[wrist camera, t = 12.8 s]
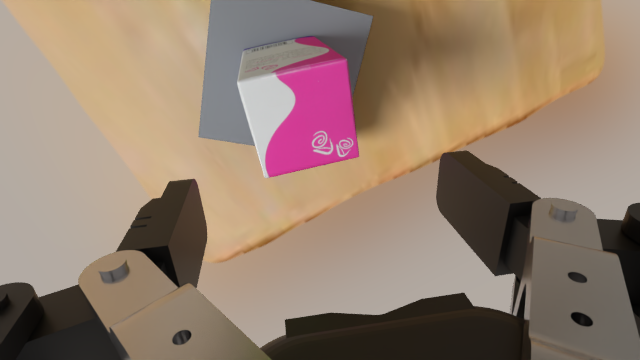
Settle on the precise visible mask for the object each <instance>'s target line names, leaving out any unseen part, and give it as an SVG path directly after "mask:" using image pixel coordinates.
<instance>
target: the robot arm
mask: <svg viewBox="0 0 640 360" xmlns="http://www.w3.org/2000/svg"><path fill="white" fill-rule="evenodd" d="M436 199H437V205H438V208H439V210H440V212H441V213H442V215H443V216H444V217H445V218H446V219H447V221H448V222H449V223H450V224H451V225H452V226H453V228H454V229H455V230H456V231H457V232H458V233H459V234H460V236H461V237H462V238H463V239H464V240H465V241H466V243H467V244H468V245H469V246H470V247H471V249H473V251H474V252H475V253H476V254H477V256H478V257H479V258H480V259H481V260H482V261H483V262H484V264H485V265H486V266H487V267H488V268H489V269H490V271H491V272H492V273H493V274H494V275H495V276H498V275H505V274H512V273H514V274H515V280H514V284H513V289H512V298H511V306H510V314H509V313H505V312H502V311H499V310H494V309H490V308H484V307H477V306H473V305H472V303H471V302H470V301H469V299H468V298H467V297H466V295H465V293H459V294H452V295H446V296H439V297H433V298H425V299H421V300H418V301H416V302H413V303H411V304H408V305H406V306H403V307H400V308H398V309H396V310H393V311H390V312H388V313H386V314H382V315H362V314H344V313H326V314H319V315H313V316H306V317H300V318H293V319H286V320H285V325H286V326H285V327H286V335H284V336H281V337H279V338H277V339H275V340H273V341H271V342H269V343H267V344H266V345H264V346H263V347H261V348H259V347H258V346H256V344H255V343H253V342H252V341H251V340H250V339H249V338H248V337H247V336H246V335H245V334H244V333H243V332H242V331H241V330H240V329H239V328H238V327H236V326H235V325H234V324H233V323H232V322H231V321H230V320H229V319H228V318H227V317H226V316H225V315H224V314H223V313H222V312H221V311H219V310H218V309H217V308H216V307H215V306H214V305H213V304H212V303H211V302H210V301H209V300H208V299H207V298H206V297H205V296H204V295H203V294H201V293H200V292H199V291H198V290H197V289H196V288H197V283H198V279H199V274H200V269H201V265H202V260H203V256H204V251H205V247H206V242H207V226H206V220H205V216H204V211H203V207H202V202H201V198H200V193H199V189H198V185H197V182H196V180H195V179H188V180H179V181H170V182H169V183H168V185H167V187H166V189H165V191H164V193H163V195H162V197H161V198H155V199H152V200H151V201H150V202H148V203H147V204H146V205H145V206H143V207H142V208H141V209H140V211H139V212H138V214H137V216H136V218H135V220H134V221H133V223H132V225H131V229H129V230H128V232H127V233H126V235H125V237H124V239H123V240H122V242H121V244H120V246H119V247H118V249H117V251H116V252H114V253H112V254H109V255H106V256H104V257H102V258H99V259H98V260H96V261H94V262H93V263H91V264H90V265H89V266H88V267H86V268H85V269H84V270H83V272H82V273H81V275H80V276H79V279H78V283H79V284H78V285H75V286H73V287H70V288H67V289H64V290H61V291H58V292H54V293H51V294H48V295H45V296H42V297H39V298H38V296H37V294H36V292H35V290H34V288H33V287H32V286H31V285H30V284H27V283H10V284H5V285H1V286H0V360H640V203H635V204H632V205H630V206H629V207H628V209H627V212H626V214H625V217H624V219H623V220H606V219H596V216H595V215H594V213H593V212H592V211H591V210H590V209H588V208H587V207H585V206H583V205H581V204H578V203H576V202H573V201H569V200H565V199H558V198H543V199H541V198H540V197H538V196H537V195H535V194H534V193H533V192H531V191H530V190H528V189H527V188H525V187H524V186H523V185H521V184H520V183H517V181H515V180H514V179H513V178H511V177H509V176H508V175H507V174H505V173H504V172H502V171H501V170H499V169H498V168H496V167H493V166H490V165H488V164H485V163H484V162H482V161H481V160H480V159H478V158H477V157H476V156H474V155H473V154H471V153H470V152H469V151H457V152H447V153H443V154H442V156H441V159H440V166H439V175H438V186H437V195H436Z"/></svg>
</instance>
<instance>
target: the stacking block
mask: <svg viewBox="0 0 640 360" xmlns="http://www.w3.org/2000/svg"><path fill="white" fill-rule="evenodd" d="M372 19H373V16H371V15H367V14H363V13H359V12H355V11H351V10H347V9H343V8H339V7H335V6H331V5H327V4H323V3H319V2H315V1H311V0H211V5H210V16H209V27H208V38H207V49H206V60H205V71H204V82H203V93H202V104H201V115H200V126H199V137H201V138H207V139H214V140H220V141H227V142H233V143H240V144H246V145H253V146H255V143H254V140H253V137H252V134H251V130H250V127H249V123H248V120H247V117H246V113H245V110H244V106H243V103H242V100H241V96H240V92H239V89H238V85H237V80H238V75H239V70H240V64H241V58H242V53H243V50H244V49H248V48H252V47H256V46H261V45H265V44H270V43H275V42H280V41H285V40H290V39H295V38H300V37H306V36H314V37H316V38H317V39H318V40H320V41H321V42H323V43H324V44H326V45H327V46H328V47H330V48H331V49H333V50H334V51H336V52H337V53H339V54H340V55H342V56H343V57H345V58H346V59H347V60H348V67H349V75H350V84H351V92H352V97H353V94H354V90H355V86H356V82H357V78H358V74H359V70H360V66H361V62H362V58H363V54H364V50H365V47H366V43H367V39H368V35H369V31H370V27H371V23H372Z"/></svg>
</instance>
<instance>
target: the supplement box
mask: <svg viewBox="0 0 640 360" xmlns="http://www.w3.org/2000/svg"><path fill="white" fill-rule="evenodd" d="M237 85H238V89H239V92H240V96H241V100H242V103H243V106H244V110H245V113H246V117H247V120H248V123H249V127H250V130H251V134H252V137H253V140H254V143H255V147H256V150H257V153H258V157H259V160H260V163H261V166H262V170H263V173H264V177H265V178H269V177H274V176H278V175H282V174H287V173H291V172H295V171H300V170H304V169H308V168H313V167H317V166H321V165H326V164H330V163H334V162H339V161H343V160H347V159H352V158H356V157H359V151H358V143H357V135H356V127H355V118H354V109H353V100H352V92H351V84H350V75H349V67H348V60H347V59H346V58H345V57H343V56H342V55H340V54H339V53H337V52H336V51H334V50H333V49H331V48H330V47H328V46H327V45H326V44H324V43H323V42H321V41H320V40H318V39H317V38H316V37H314V36H306V37H300V38H295V39H290V40H285V41H280V42H275V43H270V44H265V45H261V46H256V47H252V48H248V49H244V50H243V53H242V58H241V64H240V70H239V75H238V80H237Z"/></svg>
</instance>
